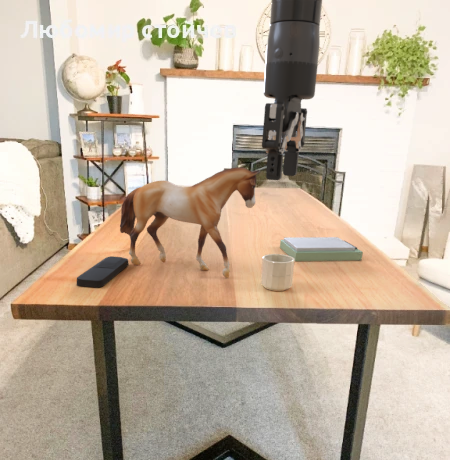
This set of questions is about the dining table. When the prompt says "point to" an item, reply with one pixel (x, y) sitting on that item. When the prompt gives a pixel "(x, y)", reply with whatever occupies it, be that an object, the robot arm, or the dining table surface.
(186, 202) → the horse figurine
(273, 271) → the white ceramic cup
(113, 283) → the dining table surface
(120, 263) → the remote control
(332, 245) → the scale
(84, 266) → the dining table surface
